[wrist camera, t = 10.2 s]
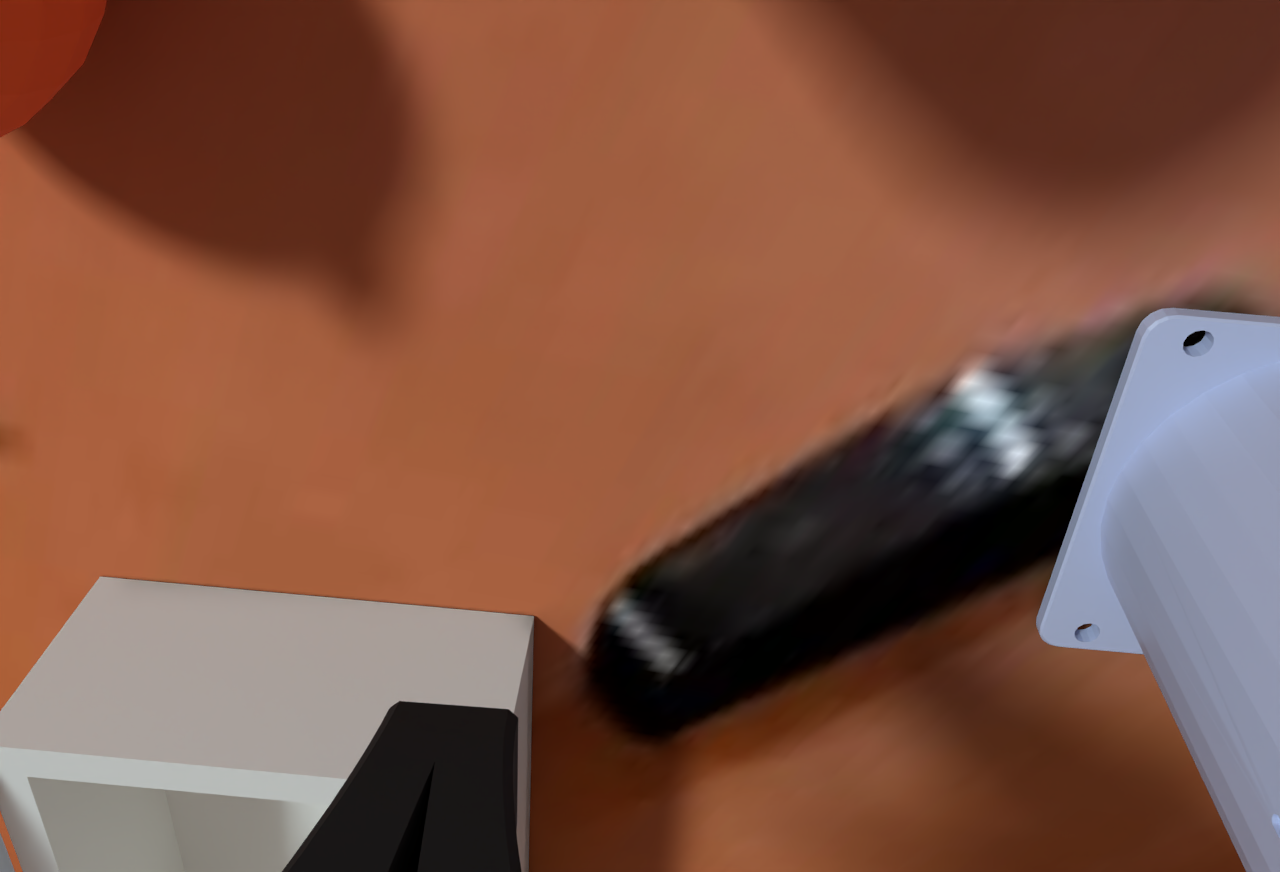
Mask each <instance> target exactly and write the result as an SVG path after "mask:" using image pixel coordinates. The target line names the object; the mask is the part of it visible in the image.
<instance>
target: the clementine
mask: <svg viewBox="0 0 1280 872" xmlns="http://www.w3.org/2000/svg"><path fill="white" fill-rule="evenodd" d="M106 1H107V0H0V137H2V136H4V135H5V134H7V133H9V132H11V131H13V130H15V129H17V128H19V127H21V126H22V125H24V124H26V123H27V122H28V121H29V120H30V119H31V118H32V117H33V116H34V115H35V114H37V113H38V112H39V111H40V110H41V109H42V108H43V107H44V106H45V105H46V104H47V103H48V102H49V101H50V100H51V99H52V98H53V97H54V96H55V95H56V94H57V93H58V92H59V90H60V89H61V88H62V87H63V86H64V85H65V84H66V83H67V81H68V80H69V79H70V78H71V77H72V76H73V75H74V74H75V73H76V71H77V70H78V69H79V68H80V67H81V66H82V65H83V64H84V62H85V59H86V57H87V54H88V52H89V50H90V47H91V45H92V42H93V40H94V38H95V35H96V33H97V30H98V28H99V25H100V23H101V21H102V18H103V16H104V13H105V7H106Z"/></svg>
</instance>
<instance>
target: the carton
mask: <svg viewBox="0 0 1280 872" xmlns="http://www.w3.org/2000/svg"><path fill="white" fill-rule="evenodd" d="M533 642H534V616H527V615H516V614H506V613H495V612H484V611H473V610H462V609H451V608H440V607H429V606H418V605H407V604H396V603H385V602H374V601H363V600H352V599H341V598H330V597H319V596H308V595H297V594H286V593H275V592H264V591H253V590H242V589H231V588H220V587H209V586H198V585H188V584H177V583H166V582H155V581H144V580H133V579H122V578H111V577H99V579H98V580H97V582H96V583H95V584H94V586H93V587H92V588H91V590H90V591H89V592H88V594H87V595H86V596H85V598H84V599H83V600H82V602H81V603H80V604H79V606H78V607H77V609H76V610H75V611H74V613H73V614H72V615H71V617H70V618H69V619H68V621H67V622H66V623H65V625H64V626H63V627H62V629H61V630H60V631H59V633H58V634H57V636H56V637H55V638H54V640H53V641H52V642H51V644H50V645H49V646H48V648H47V649H46V650H45V652H44V653H43V654H42V656H41V657H40V658H39V660H38V661H37V663H36V664H35V665H34V667H33V668H32V669H31V671H30V672H29V673H28V675H27V676H26V677H25V679H24V680H23V681H22V683H21V684H20V685H19V687H18V688H17V690H16V691H15V692H14V694H13V695H12V696H11V698H10V699H9V700H8V702H7V703H6V704H5V706H4V707H3V708H2V710H1V711H0V811H1V814H2V816H3V819H4V822H5V825H6V827H7V830H8V833H9V835H10V838H11V841H12V843H13V846H14V849H15V851H16V854H17V857H18V859H19V862H20V865H21V868H22V870H23V872H282V871H283V869H284V868H285V867H286V865H287V864H288V863H289V861H290V860H291V859H292V857H293V856H294V854H295V853H296V852H297V850H298V849H299V847H300V846H301V845H302V843H303V842H304V840H305V839H306V838H307V836H308V835H309V833H310V832H311V831H312V829H313V828H314V826H315V825H316V824H317V822H318V821H319V819H320V818H321V817H322V815H323V814H324V812H325V811H326V810H327V808H328V807H329V805H330V804H331V802H332V801H333V799H334V798H335V796H336V795H337V793H338V792H339V790H340V789H341V787H342V786H343V784H344V783H345V781H346V780H347V778H348V777H349V775H350V774H351V772H352V771H353V769H354V768H355V766H356V764H357V763H358V761H359V760H360V758H361V757H362V755H363V753H364V752H365V750H366V748H367V747H368V745H369V743H370V742H371V740H372V738H373V737H374V735H375V733H376V732H377V730H378V728H379V726H380V725H381V723H382V721H383V719H384V717H385V715H386V714H387V712H388V710H389V708H390V707H391V706H393V705H394V704H396V703H397V702H399V701H406V702H419V703H433V704H446V705H460V706H473V707H486V708H500V709H509V710H510V711H511V712H512V713H514V714H515V715H516V716H517V717H518V788H517V829H516V834H517V843H518V850H519V857H520V864H521V871H522V872H529V831H530V784H531V736H532V689H533Z"/></svg>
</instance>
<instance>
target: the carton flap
mask: <svg viewBox="0 0 1280 872" xmlns="http://www.w3.org/2000/svg"><path fill="white" fill-rule="evenodd" d="M0 872H15V871H14V868H13V866H12V863H11V860H10V858H9V855H8V853H7V850H6V847H5V845H4V842H3V839H2V837H1V834H0Z"/></svg>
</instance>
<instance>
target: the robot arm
mask: <svg viewBox="0 0 1280 872" xmlns="http://www.w3.org/2000/svg"><path fill="white" fill-rule="evenodd" d="M1202 330H1204V331H1205V336H1204V337H1203V339H1202V340H1201V341H1200V342H1199V343H1197V344H1195V345H1193V346H1186V347H1185V346H1183V342H1184V341H1185V339H1186V338H1187V337H1188V336H1189V335H1190V334H1192V333H1194V332H1195V331H1202ZM1083 624H1092V625H1091V626H1090V627H1088V628H1086V629H1080V630H1078V629H1077V628H1078V627H1080V626H1082V625H1083ZM1036 626H1037V628H1038V631H1039V634H1040V636H1041V638H1042V640H1043V641H1045V642H1046V643H1048V644H1050V645H1054V646H1058V647H1069V648H1080V649H1091V650H1102V651H1113V652H1124V653H1135V654H1144V656H1145V658H1146V660H1147V662H1148V664H1149V666H1150V668H1151V671H1152V673H1153V675H1154V677H1155V679H1156V681H1157V683H1158V685H1159V688H1160V690H1161V692H1162V694H1163V696H1164V698H1165V700H1166V702H1167V705H1168V707H1169V709H1170V711H1171V713H1172V715H1173V717H1174V719H1175V722H1176V724H1177V726H1178V728H1179V730H1180V732H1181V734H1182V736H1183V739H1184V741H1185V743H1186V745H1187V747H1188V749H1189V751H1190V753H1191V756H1192V758H1193V760H1194V762H1195V764H1196V766H1197V768H1198V770H1199V773H1200V775H1201V777H1202V779H1203V781H1204V783H1205V785H1206V787H1207V790H1208V792H1209V794H1210V796H1211V798H1212V800H1213V802H1214V804H1215V807H1216V809H1217V811H1218V813H1219V815H1220V817H1221V819H1222V821H1223V824H1224V826H1225V828H1226V830H1227V832H1228V834H1229V836H1230V838H1231V841H1232V843H1233V845H1234V847H1235V849H1236V851H1237V853H1238V855H1239V858H1240V860H1241V862H1242V864H1243V866H1244V868H1245V870H1246V872H1280V317H1273V316H1262V315H1250V314H1239V313H1227V312H1216V311H1204V310H1193V309H1181V308H1165V309H1160V310H1158V311H1155V312H1153V313H1151V314H1149V315H1148V316H1147V317H1146V318H1145V319H1144V320H1142V322H1141V323H1140V325H1139V327H1138V329H1137V330H1136V333H1135V336H1134V339H1133V342H1132V345H1131V348H1130V351H1129V353H1128V356H1127V359H1126V362H1125V365H1124V368H1123V371H1122V374H1121V376H1120V379H1119V382H1118V385H1117V388H1116V391H1115V394H1114V397H1113V399H1112V402H1111V405H1110V408H1109V411H1108V414H1107V417H1106V420H1105V422H1104V425H1103V428H1102V431H1101V434H1100V437H1099V440H1098V443H1097V445H1096V448H1095V451H1094V454H1093V457H1092V460H1091V463H1090V466H1089V469H1088V471H1087V474H1086V477H1085V480H1084V483H1083V486H1082V489H1081V492H1080V494H1079V497H1078V500H1077V503H1076V506H1075V509H1074V512H1073V515H1072V517H1071V520H1070V523H1069V526H1068V529H1067V532H1066V535H1065V538H1064V540H1063V543H1062V546H1061V549H1060V552H1059V555H1058V558H1057V561H1056V563H1055V566H1054V569H1053V572H1052V575H1051V578H1050V581H1049V584H1048V587H1047V589H1046V592H1045V595H1044V598H1043V601H1042V604H1041V607H1040V610H1039V612H1038V615H1037V620H1036ZM517 788H518V717H517V716H516V715H515V714H514V713H512V712H511V711H510V710H509V709H500V708H486V707H473V706H460V705H446V704H433V703H419V702H406V701H399V702H397V703H396V704H394V705H393V706H391V707H390V708H389V710H388V712H387V714H386V715H385V717H384V719H383V721H382V723H381V725H380V726H379V728H378V730H377V732H376V733H375V735H374V737H373V738H372V740H371V742H370V743H369V745H368V747H367V748H366V750H365V752H364V753H363V755H362V757H361V758H360V760H359V761H358V763H357V764H356V766H355V768H354V769H353V771H352V772H351V774H350V775H349V777H348V778H347V780H346V781H345V783H344V784H343V786H342V787H341V789H340V790H339V792H338V793H337V795H336V796H335V798H334V799H333V801H332V802H331V804H330V805H329V807H328V808H327V810H326V811H325V812H324V814H323V815H322V817H321V818H320V819H319V821H318V822H317V824H316V825H315V826H314V828H313V829H312V831H311V832H310V833H309V835H308V836H307V838H306V839H305V840H304V842H303V843H302V845H301V846H300V847H299V849H298V850H297V852H296V853H295V854H294V856H293V857H292V859H291V860H290V861H289V863H288V864H287V865H286V867H285V868H284V869H283V871H282V872H522V871H521V864H520V857H519V850H518V843H517V834H516V829H517Z"/></svg>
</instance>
